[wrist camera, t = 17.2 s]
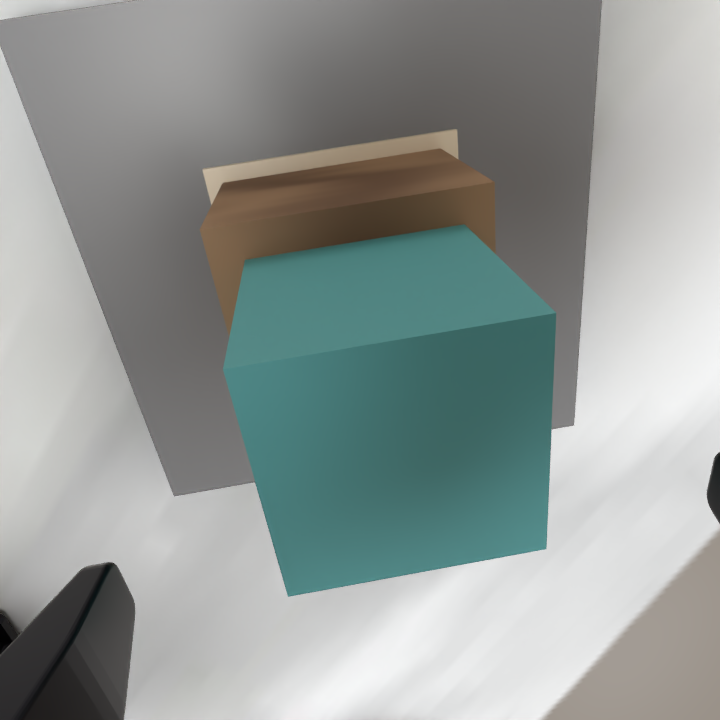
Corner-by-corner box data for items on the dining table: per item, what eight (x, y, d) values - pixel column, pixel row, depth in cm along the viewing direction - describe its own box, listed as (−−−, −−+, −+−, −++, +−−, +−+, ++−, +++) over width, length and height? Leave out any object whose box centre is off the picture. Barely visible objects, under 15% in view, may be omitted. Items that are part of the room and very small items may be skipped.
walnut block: (268, 372, 20) (263, 463, 15) (222, 183, 17) (199, 229, 12) (451, 341, 20) (498, 422, 16) (440, 148, 17) (494, 181, 12)
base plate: (180, 471, 23) (173, 499, 22) (15, 24, 16) (-13, 21, 14) (558, 405, 24) (575, 428, 22) (580, -59, 16) (610, -70, 15)
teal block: (287, 438, 15) (288, 596, 11) (245, 259, 13) (222, 369, 8) (472, 406, 15) (546, 548, 11) (464, 224, 13) (555, 313, 8)
